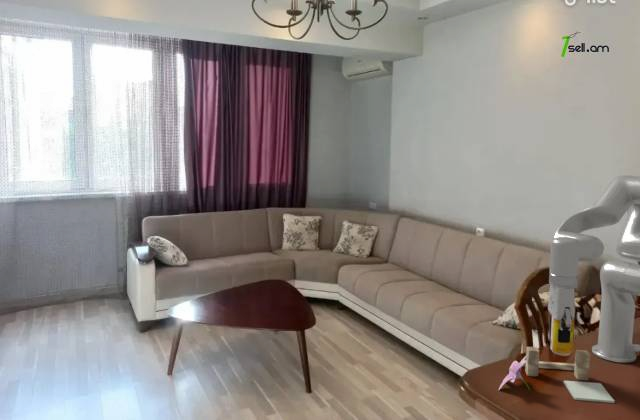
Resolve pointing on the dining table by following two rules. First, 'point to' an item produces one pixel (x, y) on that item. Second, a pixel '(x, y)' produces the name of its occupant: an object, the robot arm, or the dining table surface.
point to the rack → (579, 367)
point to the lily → (514, 372)
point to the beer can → (555, 346)
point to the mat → (588, 391)
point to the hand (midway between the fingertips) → (560, 337)
